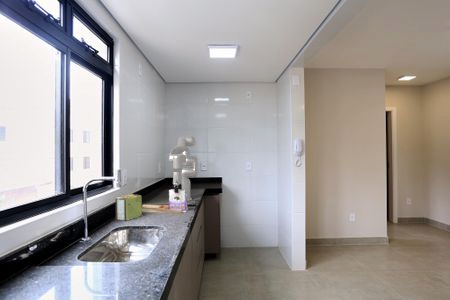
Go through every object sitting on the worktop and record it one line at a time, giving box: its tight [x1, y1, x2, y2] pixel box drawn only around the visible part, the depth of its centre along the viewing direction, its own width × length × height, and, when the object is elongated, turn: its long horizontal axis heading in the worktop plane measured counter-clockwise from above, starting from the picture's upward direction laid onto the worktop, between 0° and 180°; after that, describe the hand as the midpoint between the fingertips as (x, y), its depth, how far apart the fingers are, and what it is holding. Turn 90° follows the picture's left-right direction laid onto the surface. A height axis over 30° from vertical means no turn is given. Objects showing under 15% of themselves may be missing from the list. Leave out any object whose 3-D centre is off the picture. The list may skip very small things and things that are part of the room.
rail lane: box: [142, 203, 183, 214], centre depth 209 cm, size 15×38×2 cm, turn 83°
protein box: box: [115, 194, 143, 222], centre depth 187 cm, size 10×15×16 cm
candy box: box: [168, 188, 188, 212], centre depth 207 cm, size 14×6×16 cm, turn 83°
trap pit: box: [156, 204, 169, 209], centre depth 208 cm, size 11×7×3 cm, turn 173°
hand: (178, 191), depth 207 cm, fingers open, 9 cm apart
